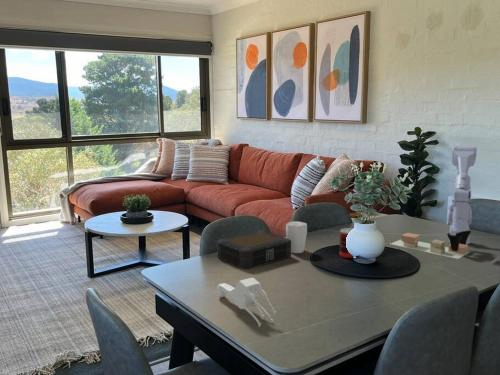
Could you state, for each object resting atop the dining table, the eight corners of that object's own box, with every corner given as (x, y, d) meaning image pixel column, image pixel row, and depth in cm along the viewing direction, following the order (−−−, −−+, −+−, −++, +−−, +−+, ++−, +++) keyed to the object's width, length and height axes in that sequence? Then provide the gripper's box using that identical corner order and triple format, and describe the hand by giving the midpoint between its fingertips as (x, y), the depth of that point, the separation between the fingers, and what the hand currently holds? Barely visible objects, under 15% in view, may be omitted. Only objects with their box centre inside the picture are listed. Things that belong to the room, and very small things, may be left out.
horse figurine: (265, 346, 141) (224, 291, 158) (278, 305, 133) (234, 252, 150) (251, 351, 138) (211, 294, 155) (264, 309, 130) (220, 254, 147)
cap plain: (453, 248, 204) (454, 242, 203) (467, 251, 200) (468, 245, 199) (448, 251, 200) (448, 245, 199) (462, 254, 196) (462, 248, 195)
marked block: (408, 243, 211) (408, 234, 210) (417, 245, 208) (418, 236, 207) (403, 245, 208) (403, 236, 207) (412, 248, 205) (413, 238, 204)
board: (403, 240, 220) (403, 238, 220) (470, 254, 199) (470, 251, 199) (389, 246, 211) (389, 243, 211) (458, 261, 190) (458, 258, 190)
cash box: (246, 271, 180) (246, 251, 179) (215, 258, 196) (215, 239, 194) (293, 258, 195) (293, 240, 194) (262, 246, 211) (262, 230, 210)
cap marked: (407, 238, 211) (407, 232, 211) (420, 241, 207) (420, 235, 207) (401, 241, 207) (401, 235, 207) (413, 243, 203) (414, 237, 203)
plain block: (434, 249, 202) (435, 239, 202) (444, 251, 199) (445, 241, 199) (430, 251, 199) (430, 241, 199) (440, 254, 196) (441, 243, 196)
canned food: (360, 254, 199) (361, 229, 197) (355, 260, 192) (356, 233, 190) (342, 252, 202) (342, 227, 200) (337, 257, 195) (338, 231, 193)
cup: (306, 248, 208) (307, 221, 206) (306, 254, 199) (307, 226, 197) (285, 247, 209) (286, 221, 207) (285, 254, 200) (285, 226, 198)
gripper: (457, 213, 205) (455, 243, 207) (443, 218, 195) (441, 250, 197) (474, 215, 200) (472, 246, 203) (461, 221, 190) (458, 254, 192)
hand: (458, 248), depth 200 cm, fingers open, 7 cm apart
